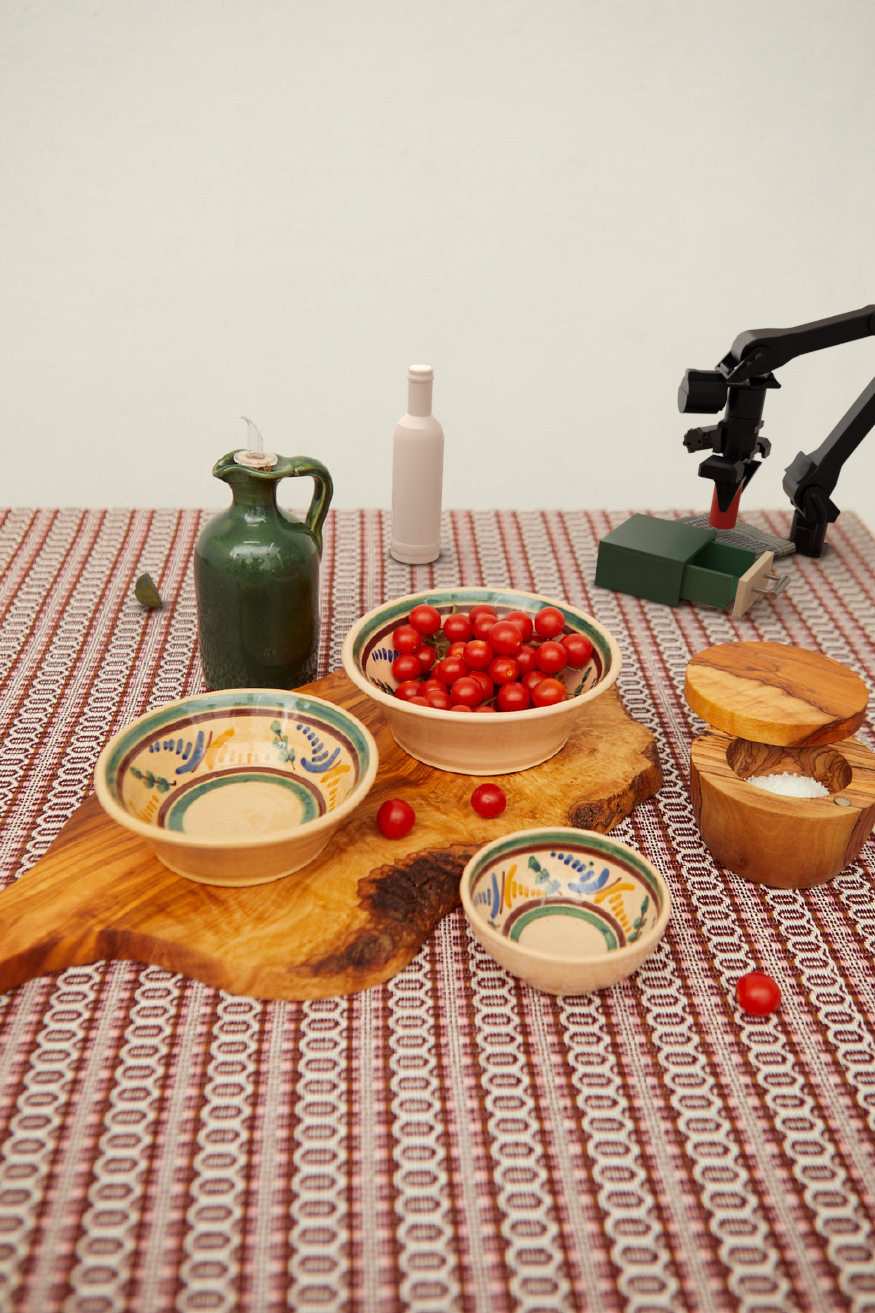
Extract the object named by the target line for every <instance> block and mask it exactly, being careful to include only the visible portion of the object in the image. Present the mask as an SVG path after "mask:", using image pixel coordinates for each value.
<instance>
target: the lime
mask: <svg viewBox="0 0 875 1313" xmlns="http://www.w3.org/2000/svg"><path fill="white" fill-rule="evenodd" d="M133 593H134V596H135V598H136V600H137V601H138V603H139V604H140V605H142V606H144V607H148V608H151V609H159V608H162V607H164V603H163V601H162V598H161V596H160V594H159V591H158V589H157V585H156V584H155V582H154V580H153V578H152V576H151V574H150V573H149V572H145V573H143V574H141V575H140V576H139V577H138V578H137V579H136V582H135V588H134V590H133Z"/></svg>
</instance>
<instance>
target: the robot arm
mask: <svg viewBox="0 0 875 1313" xmlns="http://www.w3.org/2000/svg"><path fill="white" fill-rule="evenodd" d="M874 336H875V303H870V304H867V305H865V306H864V307H862V308H857V309H855V310H850V311H847V312H843V313H839V314H836V315H833V316H828V317H825V318H821V319H818V320H814V321H810V322H806V323H803V324H799V325H796V326H792V327H784V328H783V327H781V328H780V327H765V328H755V329H754V328H753V329H747V330H746V329H745V330H744V331H742V332H740V333H739V334H737V335H736V337H735V338H734V340H733V342H732V344H731V347H730V350H729V351H727V353H726V354H725V355H724V356H723V357H722V358H721V359H720V361H719V362H718V363H717V364H716V365H714V368H713V369H714V370H712V369H711V370H709V369H696V368H692V367H691V368H690V367H689V368H685V372H684V376H683V377H682V379H681V381H680V385H679V386H678V389H677V409H678V412H679V413H680V414H693V415H717V414H718V413H719V412H722V411H723V410H724V408H725V410H724V415H723V418H722V419H720V420H719V421H718V422H717V424H711V425H706V426H705V425H704V426H697V427H695V428H693V427H691V428H689V429H687V430H686V432H685V433H684V435H683V441H682V445H683V447H686V449H687V454H694V453H696V452H700V451H707V450H711V453H712V454H711V455H709V457H707V458H705V459H704V460H703V461H701V462H700V463H698V470H697V476H698V477H699V478H702V479H708V480H712V481H713V482H714V486H715V485H716V491H717V499H718V506H719V511H720V512H724V513H725V512H726V511H727V510H728V508H729V506H730V505H731V503H732V501H733V499H734V498H735V496H736V494H737V492H738V491H739V489H740V487H741V485H742V484H743V486H742V492H741V495H742V494H743V493H744V491H745V490H746V488H747V487H748V485H749V484H750V483H751V481H752V479H753V478H754V476H755V475H756V473H757V472H758V471H759V468H760V467H761V466H762V465H763V461H761V460H756V459H755V455H757V454H760V457H761V459H765V460H766V459H767V458H769V457H770V454H771V450H772V446H773V445H772V443H771V441H770V440H769V438H768V437H764V436H760V430H761V429H762V428H764V426H765V420H764V419H762V418H763V412H764V407H765V401H766V396H767V391H768V390H769V389H770V390H780V389H781V388H782V384H781V383H780V382H779V381H778V380H777V378H776V376H775V374H774V372H773V371H775V370H777V369H780V368H781V367H782V368H783V366H786V365H787V364H788V363H790V362H791V361H792V360H794V359H795V358H797V357H798V358H799V357H800V356H803V355H806V354H810V353H814V352H817V351H818V352H819V351H821V350H825V349H829V348H832V347H835V346H839V345H844V344H846V343H850V342H854V341H858V340H862V339H865V338H869V337H874ZM874 427H875V376H873V378H872V379H871V380H870V382H869V383H868V384H867V385H866V387H865V388H864V389H863V390H862V392H861V393H860V394H859V395H858V396H857V398H856V400H854V402H853V403H852V404H851V406H849V408H848V410H847V411H846V412H845V413H844V415H843V416H842V417H841V418H840V420H839V421H838V422H837V424H836V425H835V426H834V428H833V429H832V430H831V431H830V433H829V434H828V435H827V437H825V439H824V440H823V442H822V443H821V444H820V445H819V446H818V447H817V449H814V450H813V451H811V452H809V453H808V454H805V452H803V451H802V450H800V451H798V453H797V454H796V455H795V457H794V459H793V461H792V462H791V463H790V464H789V465H788V466H787V467H785V468H784V472H785V474H784V475H783V477H782V480H781V483H782V489H783V492H784V494H785V495H786V496H787V497H788V498H789V502H790V505H791V506H793V508H794V511H793V516H792V520H791V525H790V530H789V535H788V537H787V539H785V540H786V541H789V542H792V543H794V544H795V547H796V551H795V552H794V553H797V554H801V555H805V556H809V557H810V556H811V557H814V558H820V557H821V556H823V554H824V553H825V551H827V549H829V546H830V543H829V542H826V541H825V540H826V536H827V531H828V527H829V524H835V523H836V521H837V519H838V518H839V516H840V515H841V510H840V508H838V506H837V505H836V504H835V502H833V500H832V498H830V497H831V495H832V494H833V492H834V491H835V489H836V487H837V484H838V481H839V478H840V473H841V471H842V468H843V466H844V464H845V463H846V462H847V461H848V460H849V458H850V457H851V455H852V454H853V453H854V452H855V450H856V449H857V448H858V447H859V445H861V443H862V442H863V441H864V440H865V438H866V437H867V435H868V434H869V433H870V432H871V431H872V430H873V428H874ZM720 454H721V455H720Z"/></svg>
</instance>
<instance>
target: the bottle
mask: <svg viewBox="0 0 875 1313" xmlns="http://www.w3.org/2000/svg"><path fill="white" fill-rule="evenodd" d="M406 379H407V412H406V413H405V415H403V416H402V417H401V418H400V419H399V420H398V421H397V423H396V425H395V429H394V431H393V435H392V467H391V468H392V469H391V470H392V471H391V473H392V474H391V475H392V476H391V521H390V522H391V524H390V536H389V537H390V538H389V543H390V544H389V546H390V555H391V557H392V558H393V559H394V560H396V561H397V562H400V563H402V564H408V565H425V564H430V563H433V562H434V561H436V560H438V559H439V557H440V549H441V545H442V544H441V542H442V541H441V540H442V539H441V527H442V524H441V523H442V505H443V504H442V501H443V480H444V478H443V477H444V456H445V455H444V454H445V434H444V431H443V427H442V424H441V422H440V421H439V420H438V419H437V418H436V417H435V415H434V414H433V412H432V410H433V408H432V407H433V384H434V382H433V381H434V379H435V376H434V369H433V367H432V366H430V365H428V364H421V363H420V364H419V363H418V364H412V365H410V366H409V367H408V372H407V376H406Z"/></svg>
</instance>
